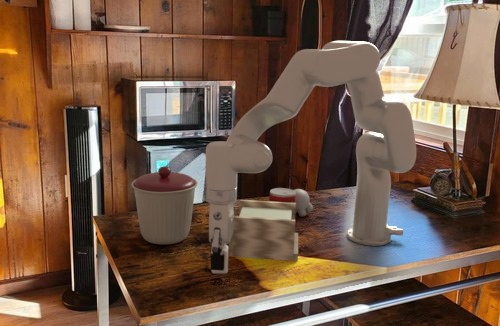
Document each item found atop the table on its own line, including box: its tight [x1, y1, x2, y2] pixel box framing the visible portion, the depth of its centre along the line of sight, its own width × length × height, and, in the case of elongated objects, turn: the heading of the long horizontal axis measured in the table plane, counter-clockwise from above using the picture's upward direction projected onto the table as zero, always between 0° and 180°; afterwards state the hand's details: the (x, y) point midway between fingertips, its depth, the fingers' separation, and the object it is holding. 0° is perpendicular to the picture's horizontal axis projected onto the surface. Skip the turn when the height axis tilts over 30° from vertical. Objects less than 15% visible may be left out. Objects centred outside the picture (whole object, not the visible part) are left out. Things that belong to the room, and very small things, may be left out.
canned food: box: [268, 187, 296, 203], centre depth 152 cm, size 8×8×11 cm
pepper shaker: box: [210, 240, 229, 275], centre depth 121 cm, size 4×4×10 cm
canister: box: [130, 165, 199, 246], centre depth 138 cm, size 18×18×21 cm
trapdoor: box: [240, 206, 292, 220], centre depth 135 cm, size 14×12×2 cm
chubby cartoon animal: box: [293, 188, 314, 218], centre depth 162 cm, size 7×12×8 cm, turn 118°
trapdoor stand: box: [228, 199, 299, 262], centre depth 135 cm, size 18×15×11 cm
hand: (219, 262), depth 121 cm, fingers open, 6 cm apart
